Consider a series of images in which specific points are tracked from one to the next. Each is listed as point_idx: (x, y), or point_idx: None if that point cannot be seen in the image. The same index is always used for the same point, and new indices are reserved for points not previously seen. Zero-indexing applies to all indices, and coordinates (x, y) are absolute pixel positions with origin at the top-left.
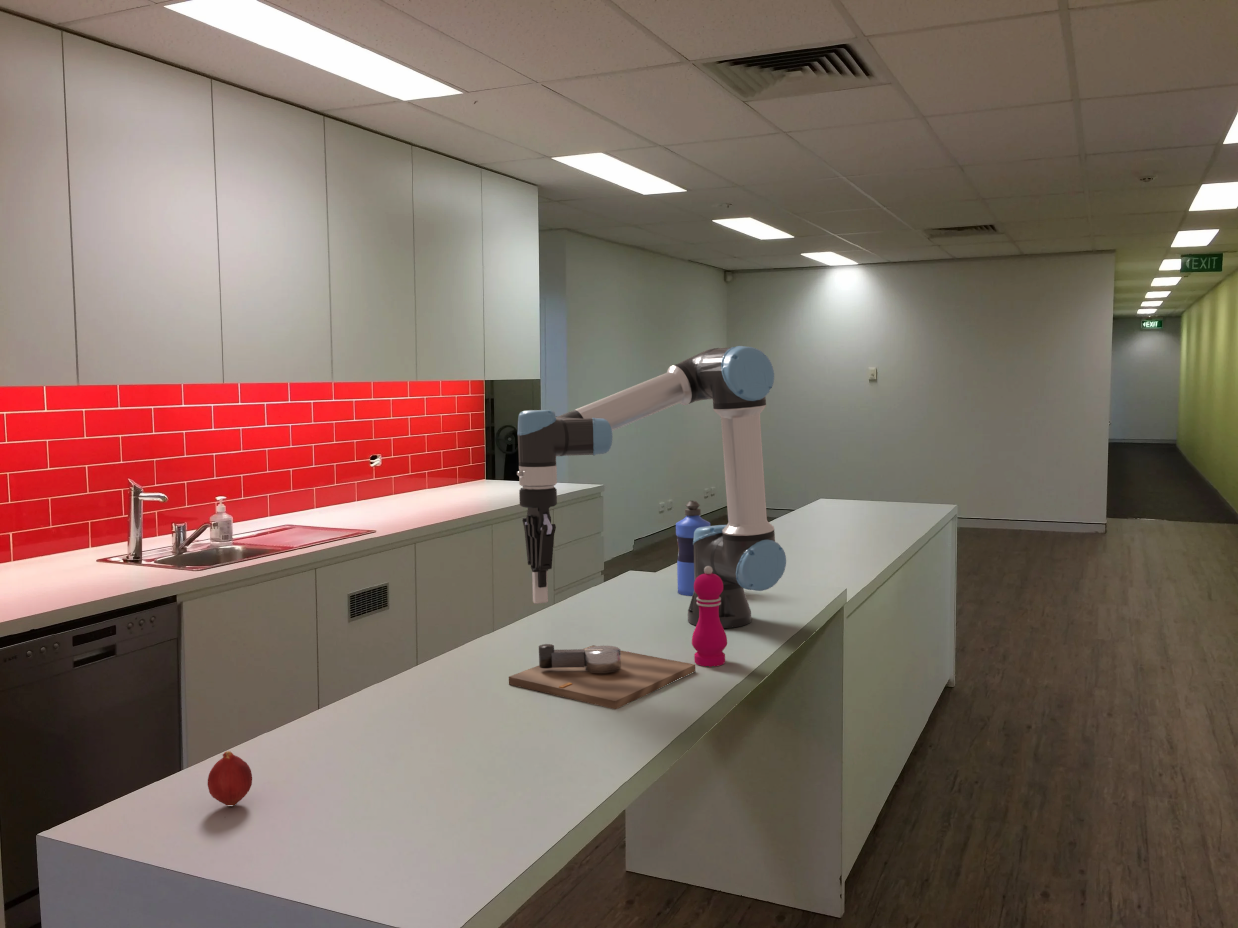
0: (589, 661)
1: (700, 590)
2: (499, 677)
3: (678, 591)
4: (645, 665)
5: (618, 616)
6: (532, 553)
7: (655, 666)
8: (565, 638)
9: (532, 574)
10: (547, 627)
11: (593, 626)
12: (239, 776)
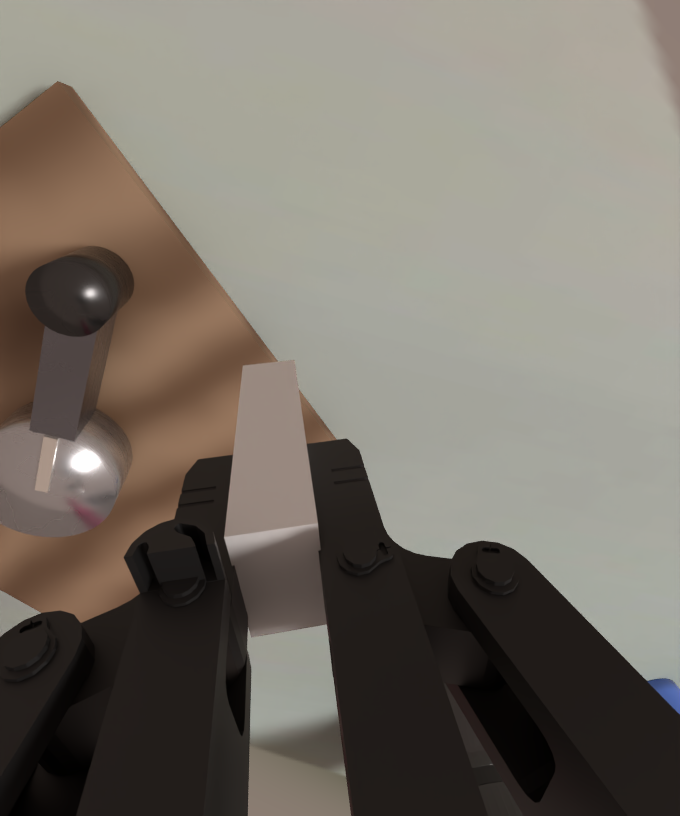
0: (7, 424)
1: None
2: (188, 76)
3: (663, 683)
4: (100, 548)
5: (608, 572)
6: (362, 809)
7: (82, 565)
8: (526, 430)
9: (304, 491)
10: (660, 412)
11: (576, 513)
12: None
